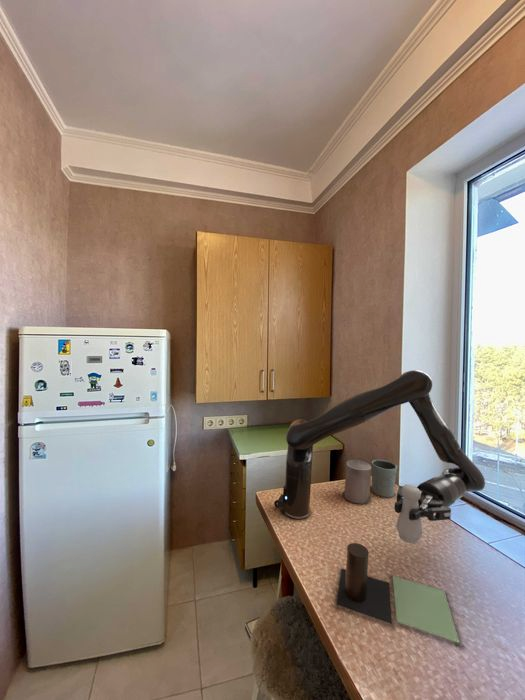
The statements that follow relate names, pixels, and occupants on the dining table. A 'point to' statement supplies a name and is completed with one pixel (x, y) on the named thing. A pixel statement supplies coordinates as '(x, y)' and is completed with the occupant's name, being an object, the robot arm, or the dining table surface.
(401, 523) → the salt shaker
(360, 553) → the dark brown cylinder
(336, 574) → the dining table surface
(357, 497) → the pillar candle
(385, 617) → the dark mat
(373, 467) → the grey-green plant pot
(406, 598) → the sage mat
